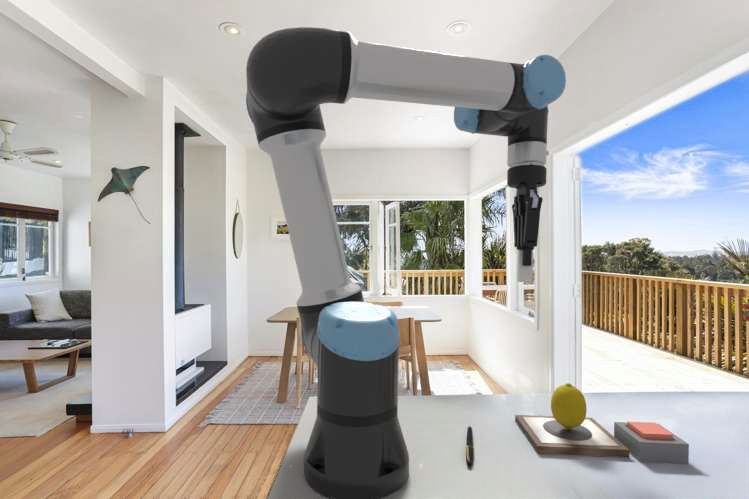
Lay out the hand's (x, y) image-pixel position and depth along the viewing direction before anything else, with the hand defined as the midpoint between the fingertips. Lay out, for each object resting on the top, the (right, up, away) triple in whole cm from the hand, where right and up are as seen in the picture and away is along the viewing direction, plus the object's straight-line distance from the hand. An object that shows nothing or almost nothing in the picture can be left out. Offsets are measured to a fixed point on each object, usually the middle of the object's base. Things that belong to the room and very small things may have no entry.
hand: (524, 281), depth 82 cm
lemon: (+2, -25, -13) cm, 28 cm away
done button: (+14, -25, -17) cm, 33 cm away
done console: (+14, -26, -17) cm, 34 cm away
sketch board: (+2, -26, -13) cm, 29 cm away
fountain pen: (-15, -26, -17) cm, 34 cm away
